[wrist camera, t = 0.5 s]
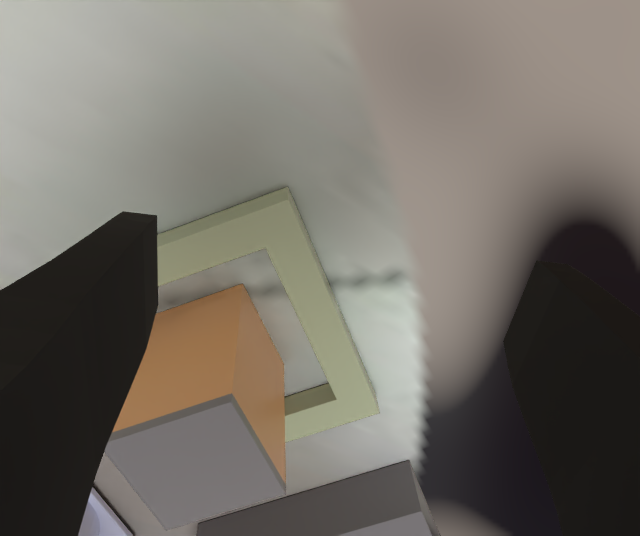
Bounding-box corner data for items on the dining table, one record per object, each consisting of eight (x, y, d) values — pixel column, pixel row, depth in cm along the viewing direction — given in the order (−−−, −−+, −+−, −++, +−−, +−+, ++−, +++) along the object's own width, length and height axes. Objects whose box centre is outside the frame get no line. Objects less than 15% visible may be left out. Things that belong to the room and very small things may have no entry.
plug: (191, 394, 27) (166, 530, 21) (142, 318, 25) (99, 445, 19) (284, 363, 27) (285, 494, 20) (242, 283, 24) (231, 402, 18)
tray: (159, 463, 29) (155, 483, 28) (27, 282, 24) (16, 298, 23) (375, 394, 28) (379, 413, 27) (287, 186, 22) (288, 199, 21)
